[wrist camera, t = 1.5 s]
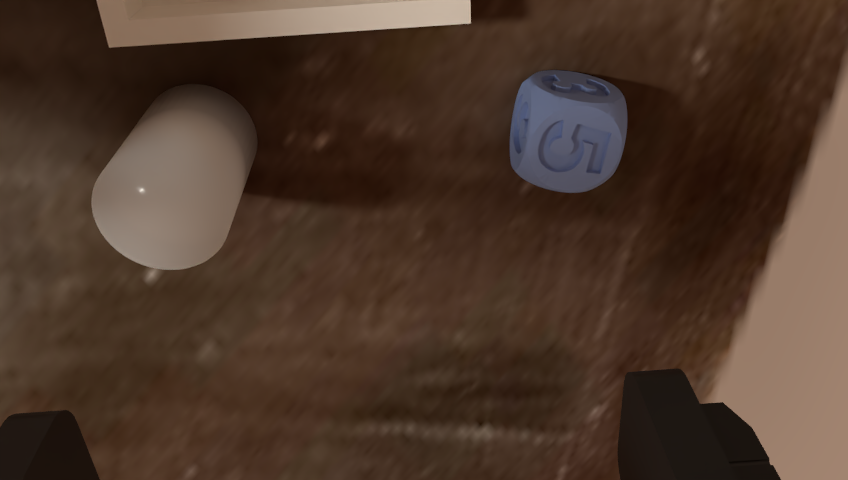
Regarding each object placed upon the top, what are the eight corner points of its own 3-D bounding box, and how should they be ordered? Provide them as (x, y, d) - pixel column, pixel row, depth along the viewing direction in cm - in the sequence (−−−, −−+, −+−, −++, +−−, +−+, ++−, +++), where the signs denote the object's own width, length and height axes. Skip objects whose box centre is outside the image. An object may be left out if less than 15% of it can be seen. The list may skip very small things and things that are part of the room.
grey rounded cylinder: (158, 191, 36) (111, 273, 30) (130, 87, 33) (74, 156, 27) (265, 183, 36) (241, 265, 30) (247, 80, 33) (215, 146, 27)
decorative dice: (589, 158, 36) (610, 198, 33) (505, 149, 36) (517, 188, 32) (611, 75, 34) (636, 109, 31) (522, 64, 34) (537, 97, 30)
